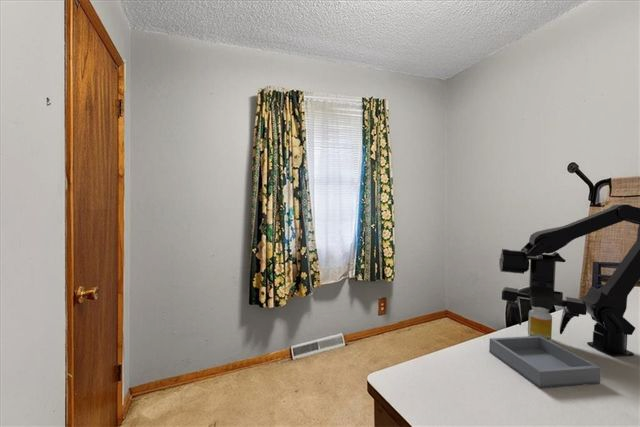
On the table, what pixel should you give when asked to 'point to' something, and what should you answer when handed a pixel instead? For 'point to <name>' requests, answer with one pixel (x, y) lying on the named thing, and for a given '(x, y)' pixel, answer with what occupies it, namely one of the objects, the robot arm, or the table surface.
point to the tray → (544, 362)
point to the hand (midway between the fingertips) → (539, 329)
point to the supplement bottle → (540, 323)
